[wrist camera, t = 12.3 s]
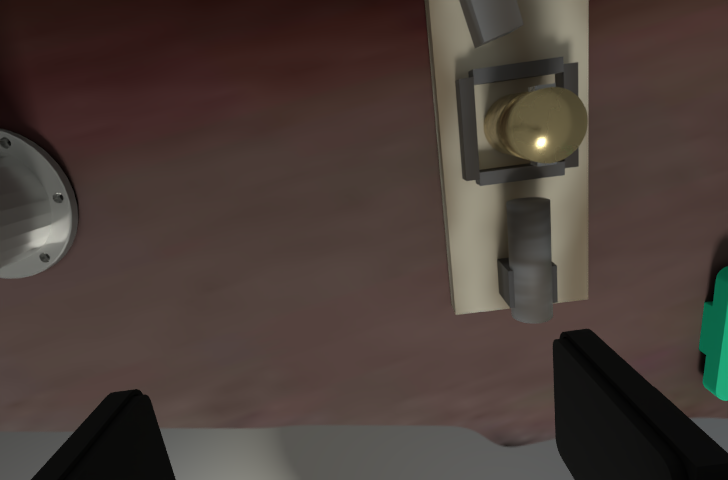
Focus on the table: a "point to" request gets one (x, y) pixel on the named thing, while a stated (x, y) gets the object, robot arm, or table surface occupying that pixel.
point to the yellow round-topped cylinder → (537, 124)
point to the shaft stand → (505, 172)
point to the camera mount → (716, 338)
